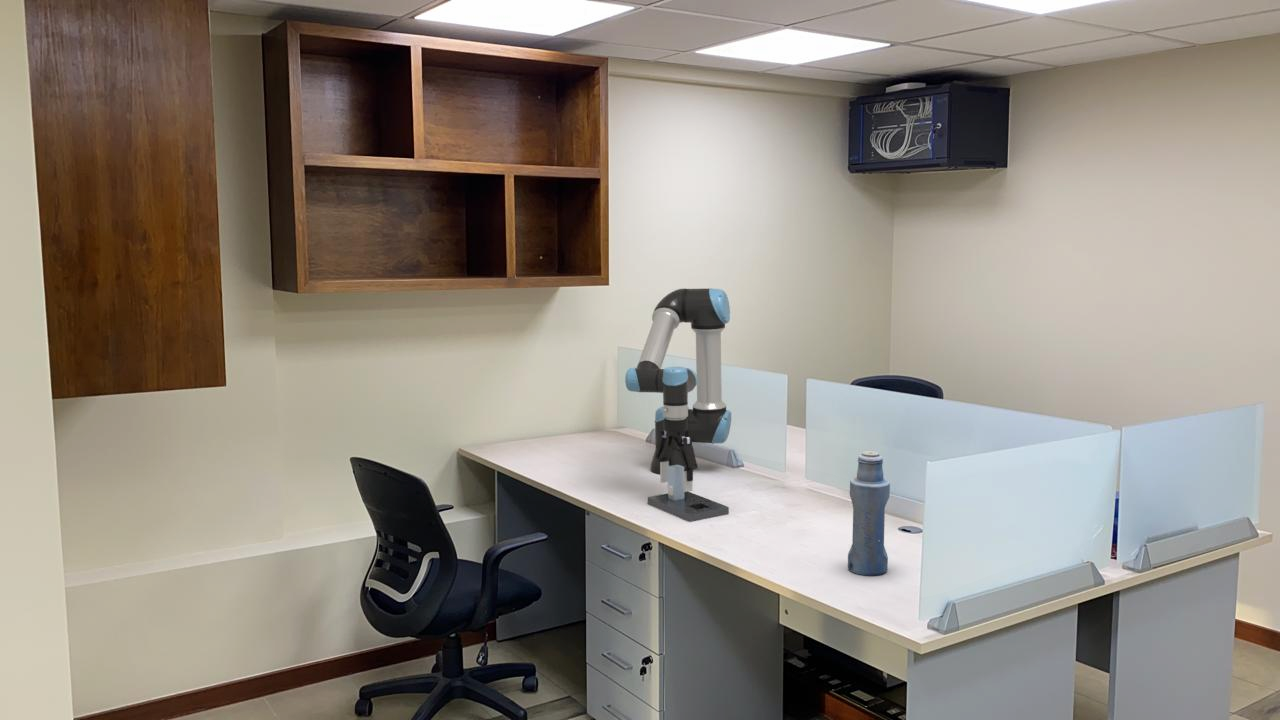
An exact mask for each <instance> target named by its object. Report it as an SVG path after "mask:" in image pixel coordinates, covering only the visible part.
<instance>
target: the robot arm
mask: <svg viewBox="0 0 1280 720" xmlns="http://www.w3.org/2000/svg"><path fill="white" fill-rule="evenodd" d="M730 308H731V307H730V300H729V298H728V295H727V293H726V292H725V290H723V289H721V288H719V289H718V288H710V287H709V288H678V289H675V290H674V291H671V292H669V293H668V294H667V295H665V296H664V297H663V298H662V299H661V300H660V301H659V302H658V303H657V305H656V306H655V307H654V310H653V313H652V316H651V320H652V323H651V327H650V330H649V333H648V335H647V338H646V340H645V344H644V345H643V349H642V352H641V354H640V356H639V361H638V363H637V366H636V367H630V368H628V369H627V370H626V372H625V377H624V378H625V379H624V380H625V386H626V389H627V391H629V392H634V393H661V394H662V399H663V401H662V402H663V406H661V407H659V408H657V409H656V410H655V417H654V419H655V420H654V426H655V427H654V428H655V429H654V432H655V436H654V437H655V438H654V439H655V450H654V453H653V456H652V460H651V462H650V463H651V464H650V471H651V472H652V473H654V474H657V475H658V474H659V476H660V477H659V479H660V481H659V482H660V484H663V483H668V466H672V465H680V466H683V467H684V492H692V491H694V490H693V485H694V484H693V481H694V470H698V469H699V468H698V463H697V459H696V458H697V457H696V454H695V451H694V447H693V443H698V444H699V443H701V444H711V445H714V444H724V443H725V442H726V441H727V440H728V437H729V434H730V432H731V431H730V430H731V425H732V412H731V411H730V410H728V409H727V404H726V403H725V402H724V401H723V398H722V396H723V395H722V394H723V393H722V390H723V389H722V338H721V337H722V335H721V334H722V332H723V330H725V328H726V324H728V323H729V322H730V318H731V309H730ZM681 323H685V324H686V323H689V324H690V325H691V326H690V327H691V330H692V331H693V332H694V333H695V358H696V359H695V361H696V362H695V363H696V364H695V366H696V367H695V368H696V370H695V371H696V372H695V371H694V370H693V369H692V368H689V367H685V366H668V367H665V368H662V366H663V363H664V360H665V357H666V354H667V351H668V348H669V345H670V343H671V340H672V336H673V333H674V330H675V329H677V328H678V327H679V326H680V324H681ZM695 387H696V401H695V402H694V404H692V408H689V404H688V403H689V401H688V400H689V399H688V395H689V393H690V392H692V391H694V389H695Z"/></svg>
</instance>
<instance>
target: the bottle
mask: <svg viewBox="0 0 1280 720" xmlns="http://www.w3.org/2000/svg"><path fill="white" fill-rule="evenodd" d="M883 459H884V458H883V456H882V455H880V453H879V452H878V451H872V450H869V451H868V450H867V451H866V450H865V451H862V452H861V454H858V458H857V462H858V464H857V470H856V471H857V472H856V476H855V477H852V478H851V479H850V481H849V497H850V500H851V503H852V540H851V541H852V544H851V546H850V549H849V550H848V553H847V567H848V569H849V571H850V572H852V573H854V574H857V575H862V576H880V575H883V574H886V572H887V571H888V563H889V562H888V561H889V557H888V553H887V550H886V547H885V521H886V520H885V519H886V517H885V512H886V511H885V510H886V509H885V508H886V506H887V503H888V501H889V499H890V493H891V491H890V490H891V483H890V481H889V480H888V479H886V478H884V469H883V463H884V460H883Z"/></svg>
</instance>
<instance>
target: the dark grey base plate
mask: <svg viewBox="0 0 1280 720" xmlns="http://www.w3.org/2000/svg"><path fill="white" fill-rule="evenodd" d="M647 505H649V506H652V507H653V508H656V509H658V510H661V511H663V512H665V513H668V514H670V515H673V516H675V517H677V518H679V519H681V520H684V521H687V522H689V523H692V522H698V521H702V520H708V519H712V518H718V517H722V516H727V515H730V514H729V513H730V506H727V505H725V504H722V503H720V502H717V501H714V500H711V499H708V498H706V497H704V496H702V495H698V494H695V493H693V492H692V491H688V492H684V499H680V500H675V501H674V500H671V499H669V498H668V493H663V494H658V495H652V496H647Z"/></svg>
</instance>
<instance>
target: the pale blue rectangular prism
mask: <svg viewBox="0 0 1280 720" xmlns="http://www.w3.org/2000/svg"><path fill="white" fill-rule="evenodd" d="M667 494H668V498H669V499H671V500H674V501H675V500H680V499H684V467H683V466H680V465H672V466H668V482H667Z"/></svg>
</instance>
